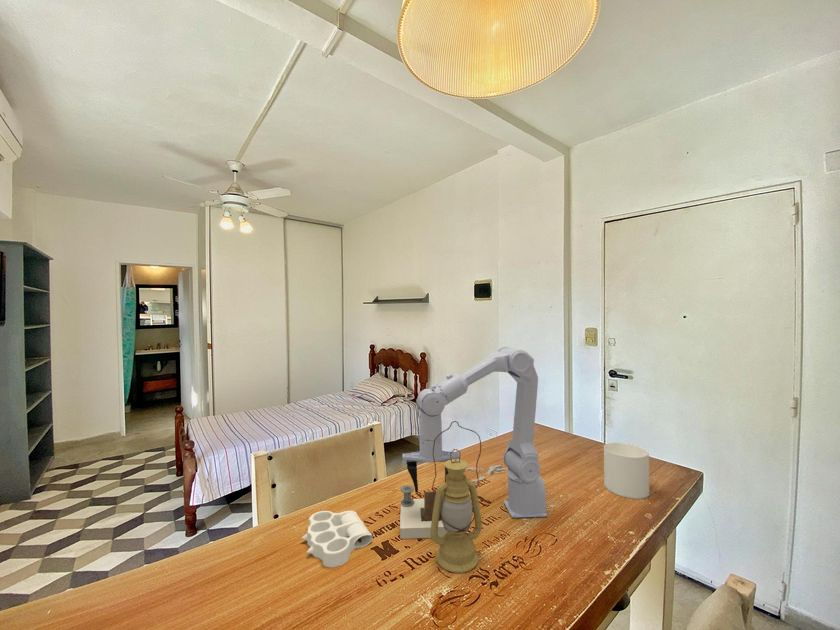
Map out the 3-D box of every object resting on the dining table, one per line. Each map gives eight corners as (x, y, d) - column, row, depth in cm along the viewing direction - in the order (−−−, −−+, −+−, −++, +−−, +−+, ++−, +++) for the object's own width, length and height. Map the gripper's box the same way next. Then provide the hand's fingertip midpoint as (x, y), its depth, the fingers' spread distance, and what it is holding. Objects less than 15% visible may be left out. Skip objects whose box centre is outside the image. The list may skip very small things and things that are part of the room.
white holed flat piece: (378, 552, 78) (312, 578, 71) (351, 514, 94) (295, 531, 86) (377, 538, 78) (311, 561, 71) (351, 501, 94) (295, 518, 86)
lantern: (473, 538, 82) (472, 412, 82) (491, 567, 72) (489, 425, 73) (425, 546, 79) (423, 416, 79) (436, 578, 70) (434, 430, 70)
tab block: (438, 518, 90) (437, 491, 90) (439, 527, 86) (439, 499, 86) (424, 518, 90) (424, 492, 90) (425, 528, 86) (424, 500, 86)
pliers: (457, 466, 119) (496, 460, 123) (457, 470, 119) (496, 465, 123) (468, 479, 109) (510, 473, 113) (468, 484, 109) (511, 477, 113)
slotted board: (444, 507, 96) (443, 483, 96) (450, 537, 83) (449, 509, 83) (401, 508, 95) (400, 485, 95) (400, 538, 82) (399, 511, 82)
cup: (606, 494, 101) (606, 454, 101) (602, 477, 112) (601, 440, 112) (653, 502, 97) (653, 459, 97) (644, 483, 107) (643, 445, 107)
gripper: (456, 431, 92) (457, 481, 92) (402, 432, 92) (403, 483, 92) (460, 440, 85) (461, 495, 85) (402, 442, 85) (403, 497, 85)
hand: (431, 490), depth 88 cm, fingers open, 7 cm apart
